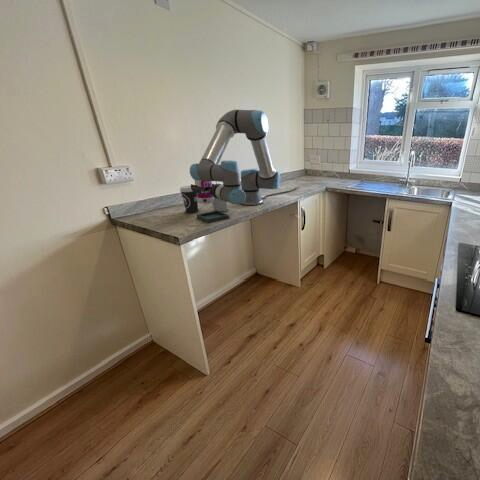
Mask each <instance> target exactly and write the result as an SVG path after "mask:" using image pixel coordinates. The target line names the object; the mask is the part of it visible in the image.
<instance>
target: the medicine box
mask: <svg viewBox="0 0 480 480" xmlns="http://www.w3.org/2000/svg"><path fill="white" fill-rule="evenodd" d="M212 208H213V211H220V212H228V202H225V201H223V200H220V199H217V198H214V201H213V202H212Z"/></svg>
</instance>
